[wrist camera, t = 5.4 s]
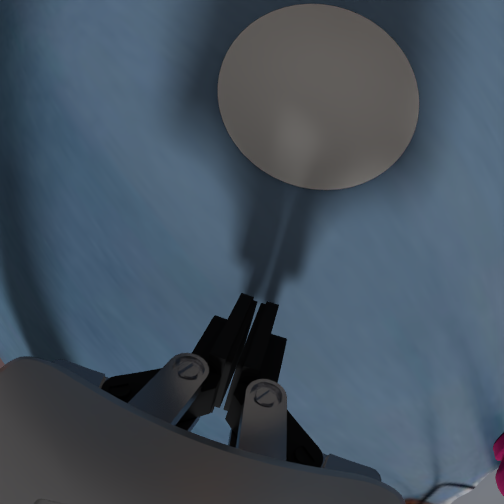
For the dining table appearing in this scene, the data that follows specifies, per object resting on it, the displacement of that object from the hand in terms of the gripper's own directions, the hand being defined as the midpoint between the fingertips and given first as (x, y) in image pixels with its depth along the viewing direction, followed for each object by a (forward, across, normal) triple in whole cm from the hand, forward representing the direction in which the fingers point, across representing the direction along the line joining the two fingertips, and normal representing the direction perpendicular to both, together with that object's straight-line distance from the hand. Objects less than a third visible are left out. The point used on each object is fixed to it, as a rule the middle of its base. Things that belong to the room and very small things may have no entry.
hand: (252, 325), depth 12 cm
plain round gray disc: (+2, 0, -10) cm, 10 cm away
